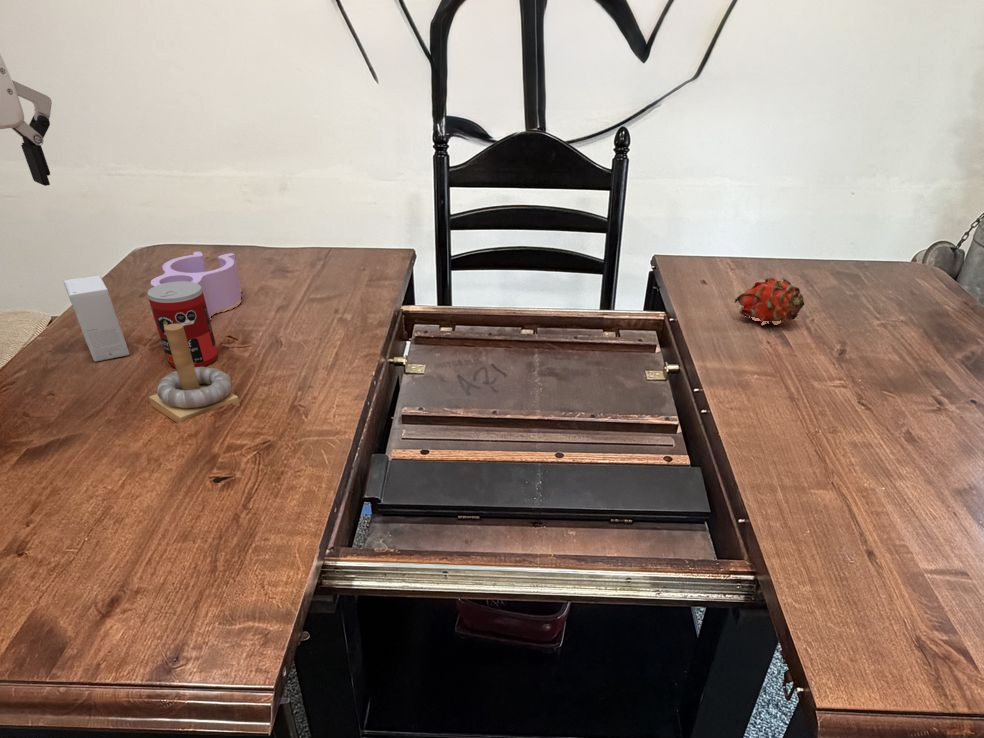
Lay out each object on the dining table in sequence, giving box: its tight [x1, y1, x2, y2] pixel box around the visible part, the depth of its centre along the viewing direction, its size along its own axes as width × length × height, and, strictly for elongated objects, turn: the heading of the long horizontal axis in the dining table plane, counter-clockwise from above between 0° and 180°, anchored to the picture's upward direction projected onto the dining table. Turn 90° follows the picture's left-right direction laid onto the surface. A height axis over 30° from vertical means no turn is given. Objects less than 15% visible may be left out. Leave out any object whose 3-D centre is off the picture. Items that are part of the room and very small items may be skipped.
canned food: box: [147, 281, 218, 369], centre depth 111 cm, size 8×8×11 cm
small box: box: [62, 275, 131, 363], centre depth 113 cm, size 8×6×10 cm
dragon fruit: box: [734, 277, 806, 323], centre depth 128 cm, size 8×8×12 cm
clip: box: [150, 251, 242, 318], centre depth 130 cm, size 20×12×7 cm, turn 173°
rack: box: [148, 324, 241, 424], centre depth 99 cm, size 9×9×12 cm
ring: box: [156, 366, 233, 408], centre depth 101 cm, size 10×10×2 cm
